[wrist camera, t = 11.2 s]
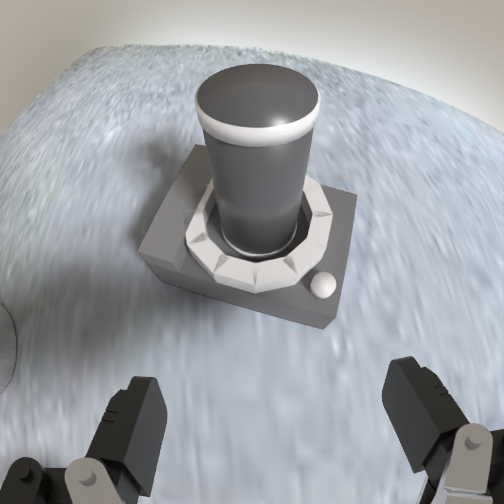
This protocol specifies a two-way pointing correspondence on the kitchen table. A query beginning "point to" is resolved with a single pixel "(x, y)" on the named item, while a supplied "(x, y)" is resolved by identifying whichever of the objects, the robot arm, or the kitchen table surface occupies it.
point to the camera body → (244, 269)
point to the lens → (258, 152)
